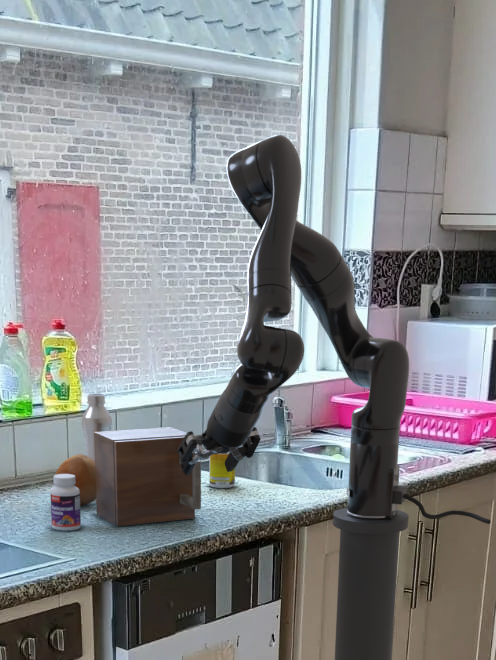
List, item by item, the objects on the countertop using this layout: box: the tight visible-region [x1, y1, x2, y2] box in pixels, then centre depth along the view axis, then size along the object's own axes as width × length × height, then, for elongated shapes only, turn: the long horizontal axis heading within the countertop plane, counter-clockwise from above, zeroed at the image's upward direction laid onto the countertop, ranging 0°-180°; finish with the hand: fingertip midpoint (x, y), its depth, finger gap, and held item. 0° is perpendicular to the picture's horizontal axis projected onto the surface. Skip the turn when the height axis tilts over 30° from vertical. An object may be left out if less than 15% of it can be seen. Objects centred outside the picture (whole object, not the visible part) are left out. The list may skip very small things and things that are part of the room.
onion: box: [54, 453, 96, 507], centre depth 240 cm, size 10×10×10 cm
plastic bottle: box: [81, 392, 113, 461], centre depth 252 cm, size 6×7×20 cm
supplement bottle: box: [208, 452, 236, 489], centre depth 260 cm, size 6×6×10 cm
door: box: [114, 436, 202, 527], centre depth 223 cm, size 8×16×16 cm, turn 118°
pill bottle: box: [50, 474, 82, 532], centre depth 222 cm, size 5×5×10 cm
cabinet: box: [94, 426, 188, 527], centre depth 231 cm, size 10×16×16 cm, turn 118°
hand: (206, 469), depth 218 cm, fingers open, 8 cm apart
